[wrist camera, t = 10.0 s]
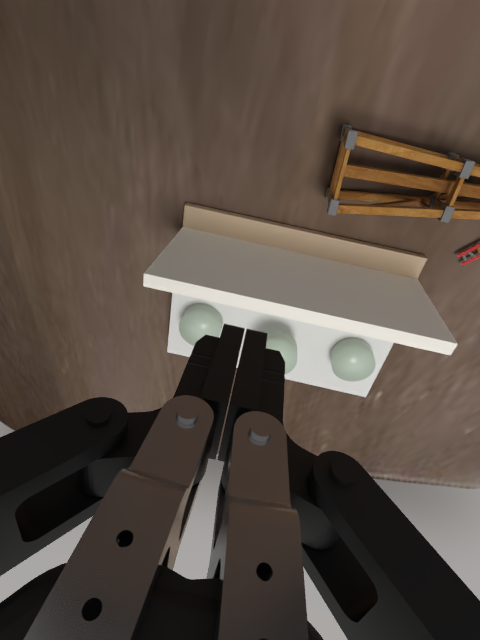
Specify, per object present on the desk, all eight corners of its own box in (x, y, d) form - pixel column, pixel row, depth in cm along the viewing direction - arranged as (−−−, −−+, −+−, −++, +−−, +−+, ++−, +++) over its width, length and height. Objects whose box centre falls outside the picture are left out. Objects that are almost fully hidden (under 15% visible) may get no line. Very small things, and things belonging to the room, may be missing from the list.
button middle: (251, 359, 43) (249, 370, 41) (259, 326, 40) (258, 336, 39) (291, 368, 43) (290, 379, 41) (302, 336, 40) (302, 346, 39)
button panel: (173, 338, 50) (167, 351, 47) (181, 257, 43) (174, 268, 40) (362, 381, 49) (365, 397, 47) (399, 306, 43) (405, 319, 40)
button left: (181, 332, 45) (177, 342, 43) (185, 299, 42) (180, 308, 41) (219, 341, 45) (216, 351, 43) (225, 308, 42) (222, 317, 41)
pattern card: (183, 237, 42) (143, 290, 31) (187, 202, 39) (144, 246, 29) (408, 287, 41) (448, 359, 30) (424, 254, 39) (473, 319, 28)
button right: (325, 365, 45) (326, 376, 43) (337, 334, 42) (339, 344, 40) (363, 374, 45) (366, 385, 43) (378, 343, 42) (382, 353, 40)
